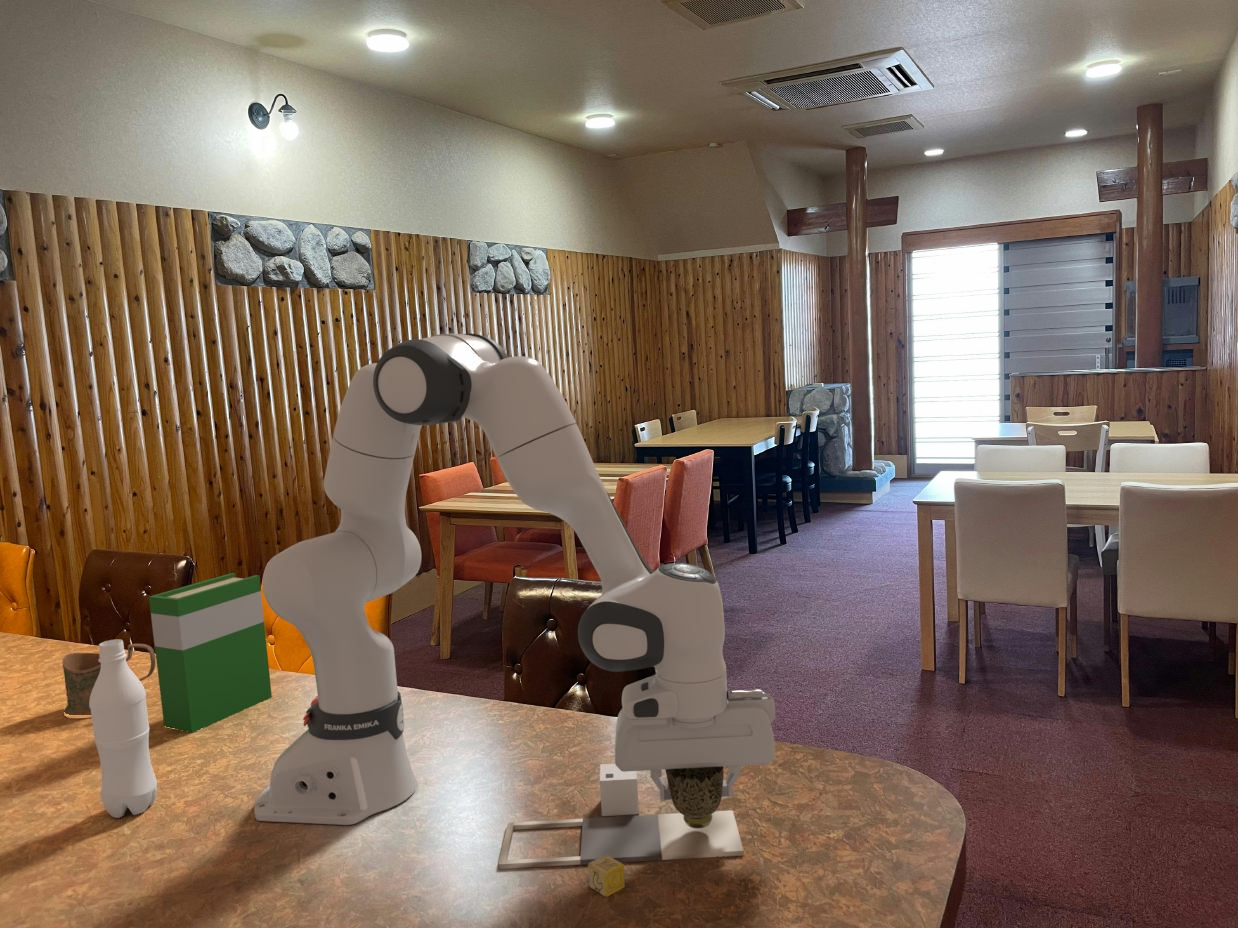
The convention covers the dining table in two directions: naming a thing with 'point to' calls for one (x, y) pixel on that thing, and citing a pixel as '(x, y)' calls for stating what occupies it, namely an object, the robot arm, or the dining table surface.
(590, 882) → the alphabet block
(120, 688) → the water bottle
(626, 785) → the die
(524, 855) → the dining table surface
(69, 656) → the mug
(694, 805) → the cup
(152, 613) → the hardback book
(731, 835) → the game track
